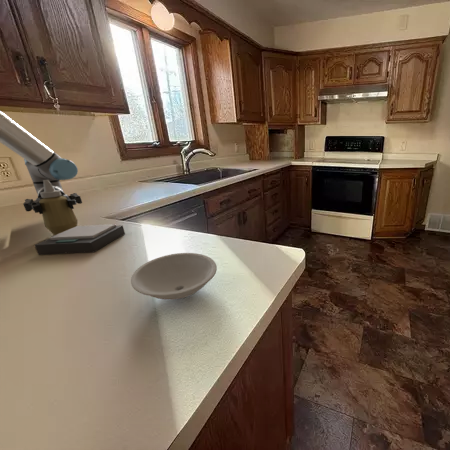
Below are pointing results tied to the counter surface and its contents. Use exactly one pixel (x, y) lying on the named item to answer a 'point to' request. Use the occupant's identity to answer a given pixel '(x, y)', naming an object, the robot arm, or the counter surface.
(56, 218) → the squeeze bottle
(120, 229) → the kitchen scale
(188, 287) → the dish
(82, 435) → the counter surface
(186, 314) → the counter surface
